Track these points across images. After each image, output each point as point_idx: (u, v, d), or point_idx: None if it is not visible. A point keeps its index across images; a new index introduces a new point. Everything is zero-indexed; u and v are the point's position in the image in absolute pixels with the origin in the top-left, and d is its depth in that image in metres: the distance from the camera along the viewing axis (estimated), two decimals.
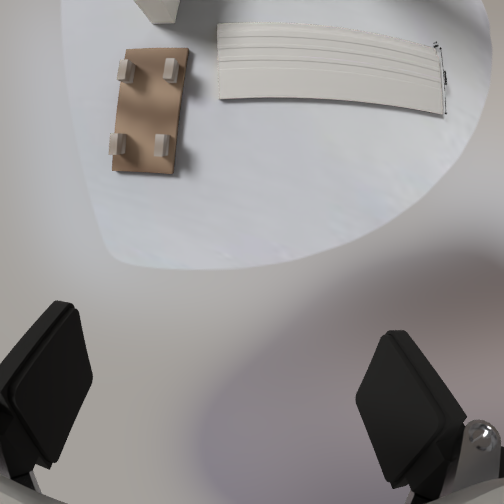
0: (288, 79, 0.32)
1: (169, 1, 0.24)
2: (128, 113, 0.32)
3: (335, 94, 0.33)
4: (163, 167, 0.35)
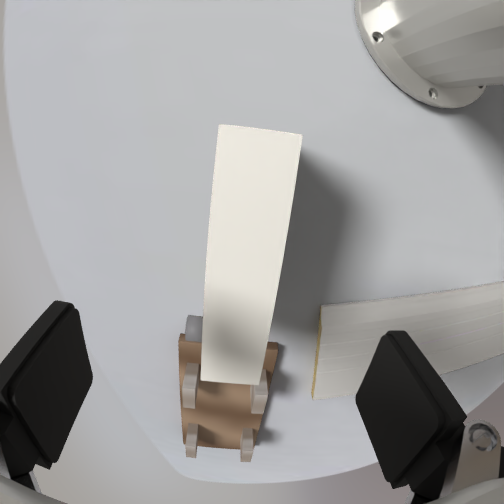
0: None
1: None
2: (197, 409, 0.26)
3: None
4: None
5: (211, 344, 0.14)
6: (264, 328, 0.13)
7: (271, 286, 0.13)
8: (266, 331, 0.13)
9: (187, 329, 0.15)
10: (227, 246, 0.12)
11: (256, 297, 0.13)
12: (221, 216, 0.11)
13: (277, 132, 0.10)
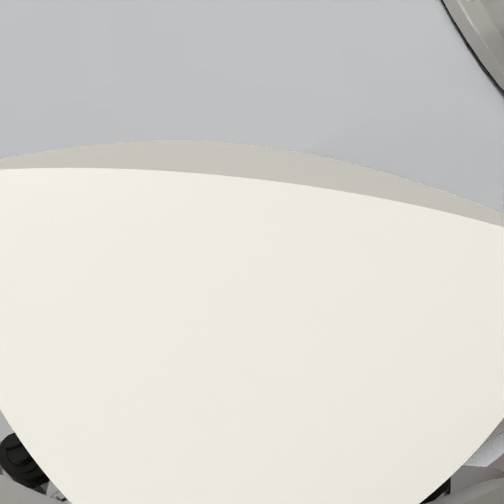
0: None
1: None
2: None
3: None
4: None
5: None
6: None
7: None
8: None
9: None
10: None
11: None
12: None
13: None
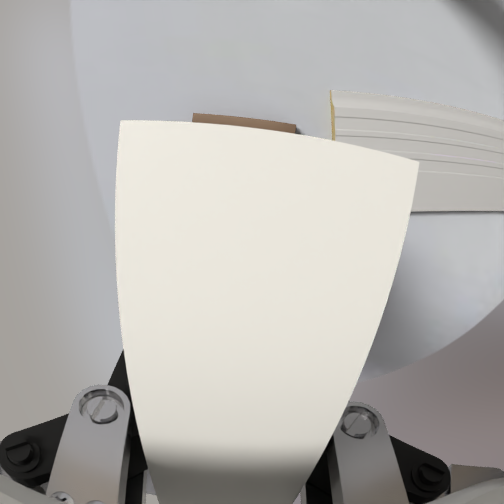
0: (418, 187, 0.24)
1: None
2: None
3: (461, 204, 0.25)
4: None
5: None
6: None
7: (288, 489, 0.05)
8: None
9: (146, 486, 0.07)
10: (190, 450, 0.04)
11: (258, 500, 0.05)
12: (161, 403, 0.04)
13: (341, 148, 0.03)
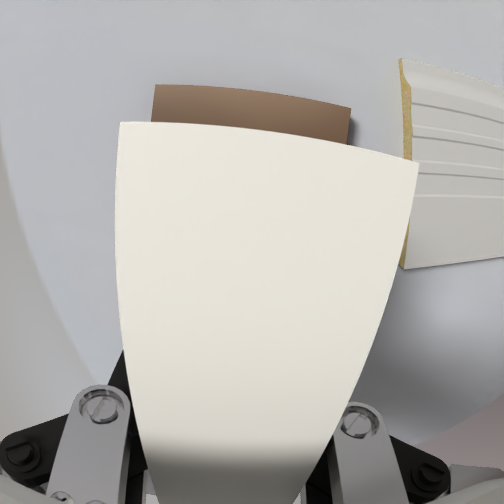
0: None
1: None
2: None
3: None
4: None
5: None
6: None
7: (288, 490, 0.05)
8: None
9: (146, 486, 0.07)
10: (190, 451, 0.04)
11: (259, 500, 0.05)
12: (161, 403, 0.04)
13: (341, 149, 0.03)
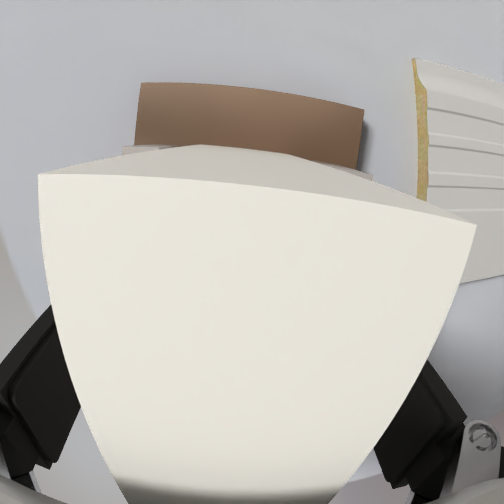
0: None
1: None
2: None
3: None
4: None
5: None
6: None
7: None
8: None
9: None
10: None
11: None
12: (142, 478, 0.03)
13: (376, 213, 0.02)
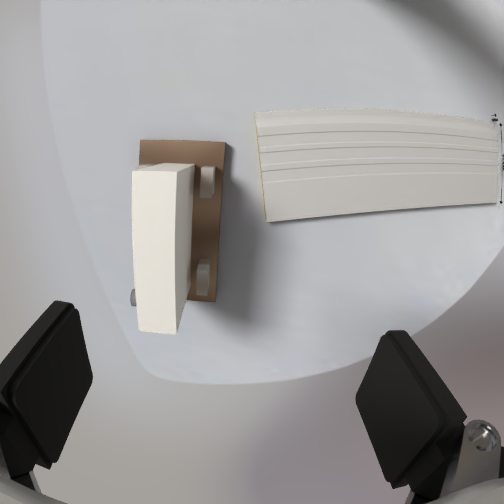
0: (348, 190, 0.29)
1: (184, 294, 0.26)
2: None
3: (398, 203, 0.29)
4: (205, 295, 0.31)
5: (142, 303, 0.21)
6: (171, 291, 0.21)
7: (170, 262, 0.20)
8: (173, 293, 0.21)
9: (131, 297, 0.23)
10: (143, 239, 0.20)
11: (163, 270, 0.20)
12: (137, 222, 0.19)
13: (162, 172, 0.18)
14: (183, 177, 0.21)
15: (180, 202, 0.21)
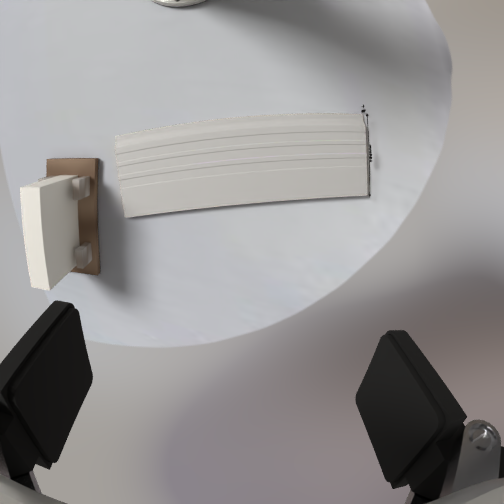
0: (185, 191, 0.36)
1: (64, 266, 0.33)
2: None
3: (234, 199, 0.36)
4: (90, 270, 0.38)
5: (30, 268, 0.28)
6: (43, 260, 0.28)
7: (41, 242, 0.27)
8: (44, 262, 0.28)
9: None
10: (27, 228, 0.27)
11: (38, 247, 0.28)
12: (24, 217, 0.26)
13: (33, 188, 0.25)
14: (52, 188, 0.28)
15: (49, 204, 0.28)
